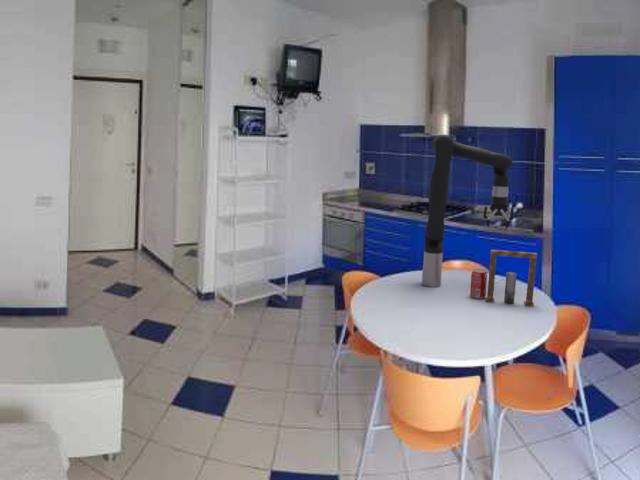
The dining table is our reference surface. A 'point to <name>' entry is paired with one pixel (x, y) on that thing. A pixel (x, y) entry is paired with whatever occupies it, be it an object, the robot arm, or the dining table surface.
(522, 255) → the arch
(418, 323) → the dining table surface
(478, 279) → the soda can
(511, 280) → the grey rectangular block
